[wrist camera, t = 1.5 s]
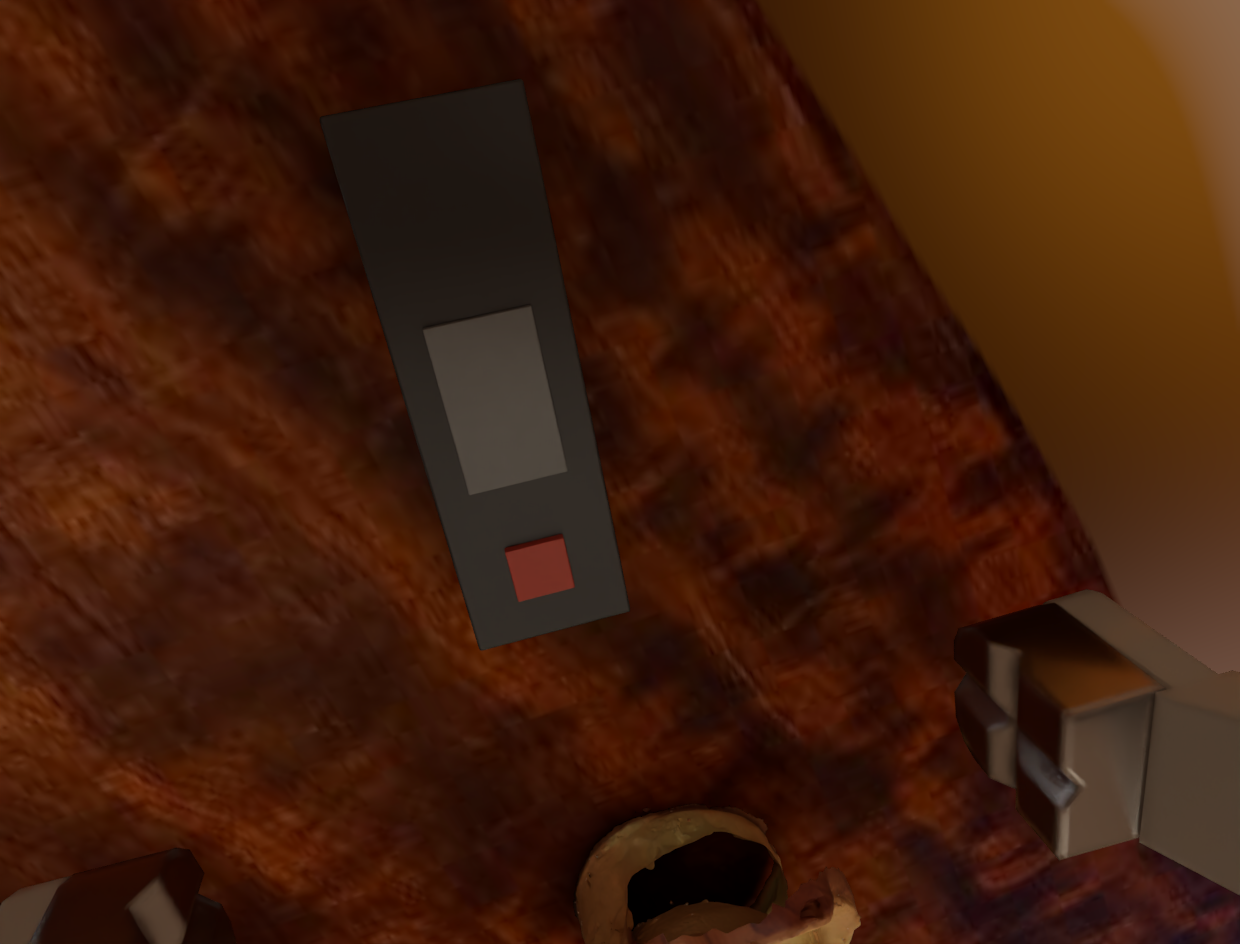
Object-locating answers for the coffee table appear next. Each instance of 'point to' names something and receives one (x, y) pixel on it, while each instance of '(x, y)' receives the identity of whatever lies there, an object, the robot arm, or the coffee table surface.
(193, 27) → the coffee table surface
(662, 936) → the bone
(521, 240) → the remote
